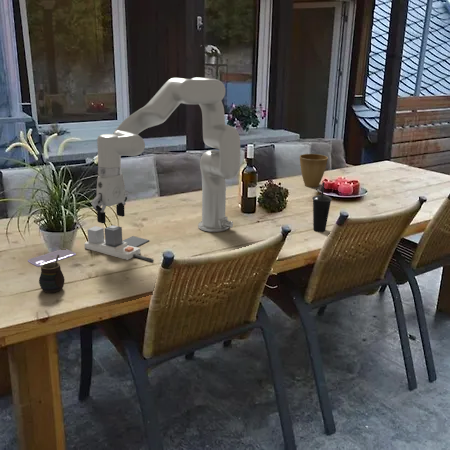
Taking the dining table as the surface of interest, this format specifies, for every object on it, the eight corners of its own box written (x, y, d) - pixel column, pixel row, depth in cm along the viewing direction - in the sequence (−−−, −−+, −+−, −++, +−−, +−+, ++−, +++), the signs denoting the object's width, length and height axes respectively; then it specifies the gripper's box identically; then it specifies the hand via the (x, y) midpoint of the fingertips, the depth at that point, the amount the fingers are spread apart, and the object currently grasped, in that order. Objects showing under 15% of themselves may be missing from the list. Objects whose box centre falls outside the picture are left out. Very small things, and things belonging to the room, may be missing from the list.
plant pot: (294, 182, 285) (296, 153, 280) (320, 182, 287) (323, 153, 282) (301, 189, 271) (303, 159, 266) (328, 189, 273) (331, 159, 268)
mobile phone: (77, 252, 181) (38, 265, 171) (77, 255, 182) (38, 268, 171) (65, 247, 186) (26, 259, 175) (65, 249, 186) (26, 261, 176)
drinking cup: (330, 228, 214) (334, 181, 207) (327, 234, 207) (331, 186, 200) (311, 226, 216) (315, 179, 209) (308, 231, 209) (312, 184, 202)
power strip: (159, 258, 180) (159, 239, 177) (146, 265, 174) (146, 246, 172) (98, 242, 193) (97, 224, 191) (84, 248, 187) (83, 230, 185)
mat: (149, 241, 195) (149, 240, 195) (135, 247, 189) (135, 246, 189) (132, 236, 199) (132, 236, 199) (118, 243, 193) (118, 242, 192)
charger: (122, 245, 185) (121, 226, 183) (114, 249, 182) (113, 229, 179) (113, 243, 187) (112, 224, 185) (105, 246, 184) (104, 227, 181)
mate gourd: (34, 293, 153) (31, 262, 150) (48, 283, 160) (45, 253, 157) (57, 296, 151) (54, 264, 148) (69, 285, 158) (67, 255, 155)
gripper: (100, 177, 166) (102, 227, 172) (134, 168, 181) (135, 215, 186) (83, 174, 170) (85, 223, 175) (118, 165, 184) (119, 211, 190)
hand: (111, 219), depth 181 cm, fingers open, 9 cm apart
